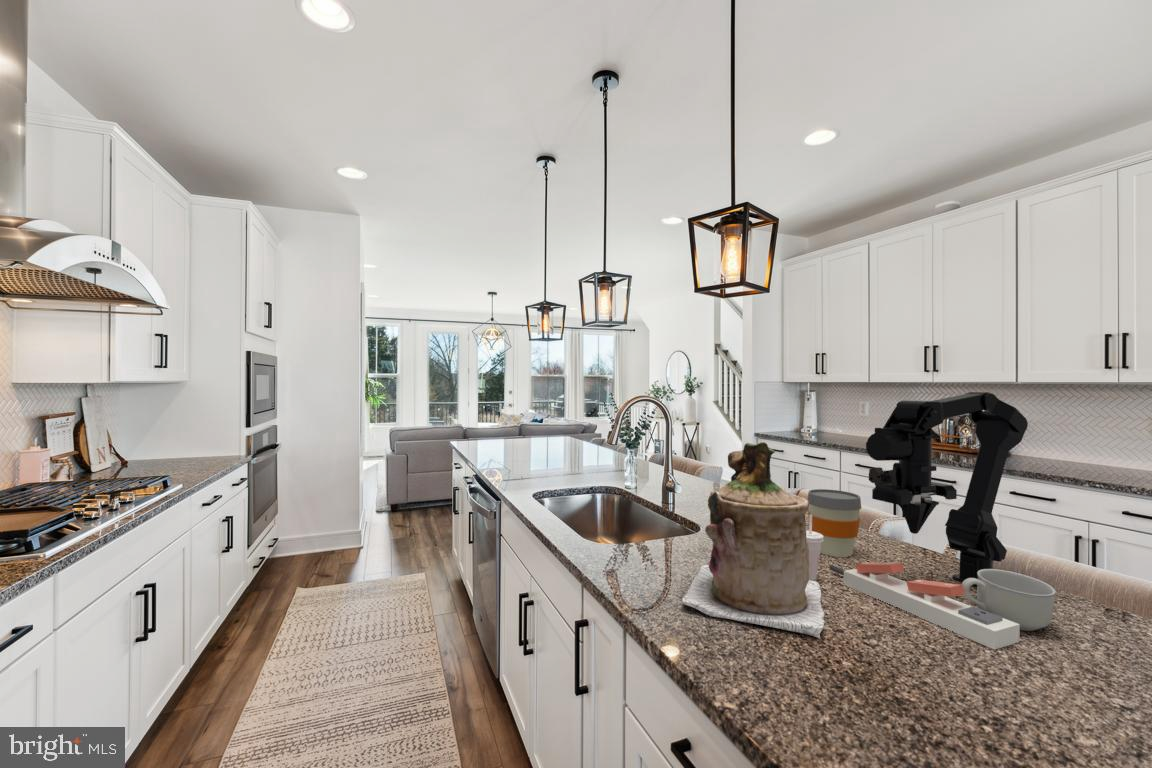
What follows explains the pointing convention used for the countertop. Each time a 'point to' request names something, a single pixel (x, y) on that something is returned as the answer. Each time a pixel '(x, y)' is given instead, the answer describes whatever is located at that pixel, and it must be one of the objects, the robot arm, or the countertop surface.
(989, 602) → the teacup
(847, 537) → the reusable coffee cup
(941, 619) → the power strip
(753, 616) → the cookie jar
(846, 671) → the countertop surface
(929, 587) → the block
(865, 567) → the rocker
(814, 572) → the smoothie
